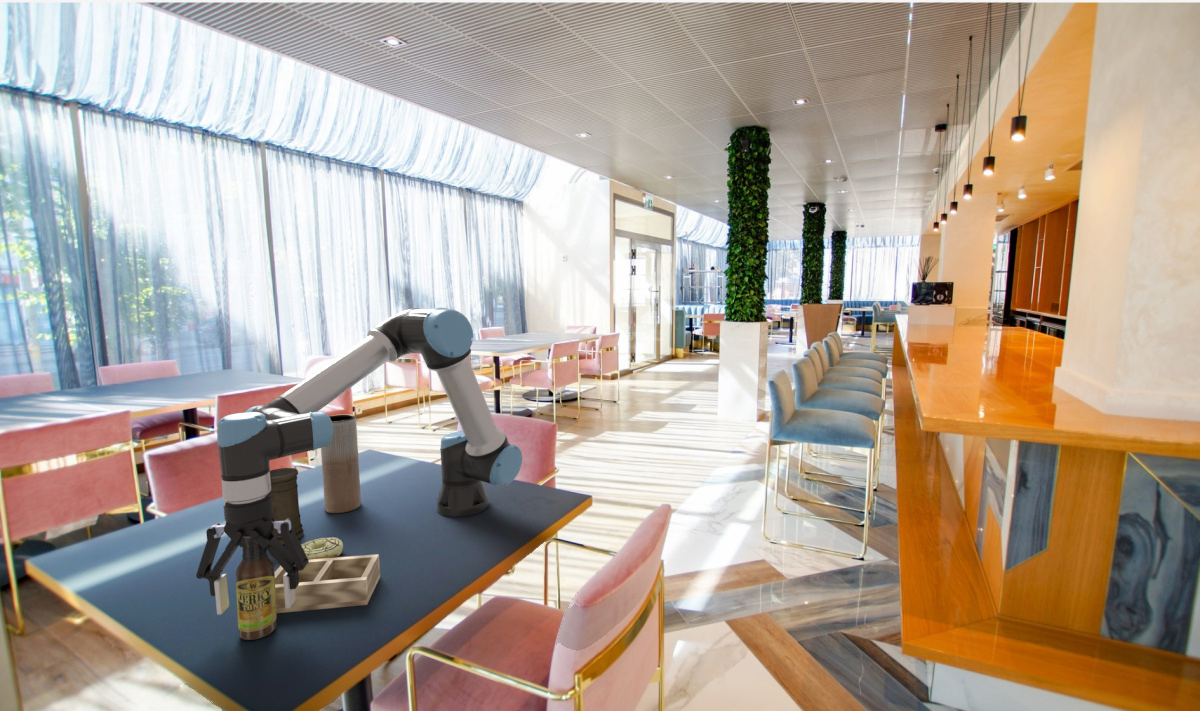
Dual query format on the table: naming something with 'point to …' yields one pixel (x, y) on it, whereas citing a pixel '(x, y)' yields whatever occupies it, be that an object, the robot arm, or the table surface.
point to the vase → (341, 466)
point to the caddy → (331, 583)
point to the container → (285, 499)
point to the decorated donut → (323, 548)
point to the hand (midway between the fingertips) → (257, 607)
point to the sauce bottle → (255, 591)
